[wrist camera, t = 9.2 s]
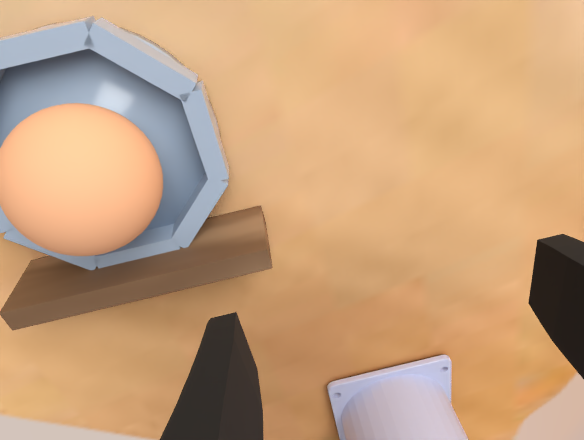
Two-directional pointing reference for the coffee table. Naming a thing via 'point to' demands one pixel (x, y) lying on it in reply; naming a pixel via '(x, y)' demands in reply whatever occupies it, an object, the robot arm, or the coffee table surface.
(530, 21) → the coffee table surface
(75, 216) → the ball
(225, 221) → the wooden block
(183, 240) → the dish
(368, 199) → the coffee table surface
